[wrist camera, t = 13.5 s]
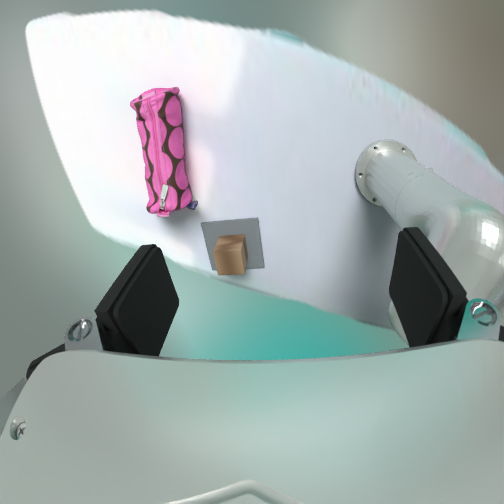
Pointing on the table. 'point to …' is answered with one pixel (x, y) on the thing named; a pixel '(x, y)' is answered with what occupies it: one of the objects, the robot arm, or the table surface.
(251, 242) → the felt pad
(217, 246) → the walnut block
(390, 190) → the robot arm
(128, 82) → the table surface
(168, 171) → the pencil case
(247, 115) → the table surface
